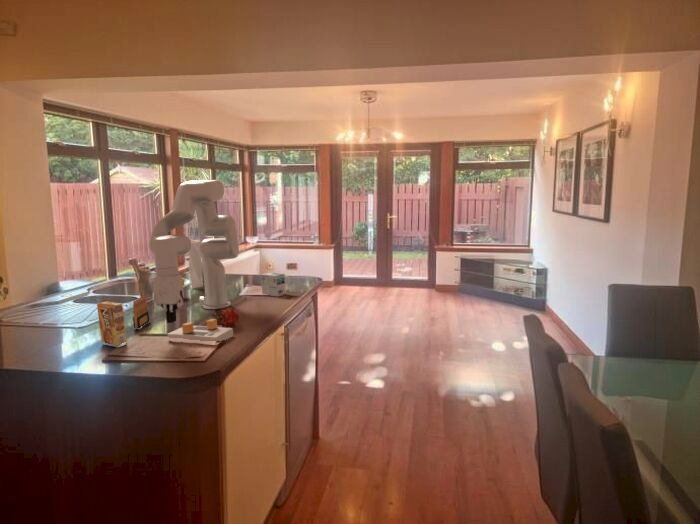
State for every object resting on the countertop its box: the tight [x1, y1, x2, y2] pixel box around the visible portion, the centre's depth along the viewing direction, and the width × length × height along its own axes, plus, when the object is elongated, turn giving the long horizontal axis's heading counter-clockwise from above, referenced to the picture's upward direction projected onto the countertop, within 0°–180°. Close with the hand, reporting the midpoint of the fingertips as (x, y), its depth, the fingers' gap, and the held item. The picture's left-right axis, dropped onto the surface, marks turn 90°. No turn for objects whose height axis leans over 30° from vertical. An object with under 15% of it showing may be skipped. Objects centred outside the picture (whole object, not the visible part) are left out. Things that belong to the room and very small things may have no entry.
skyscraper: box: [188, 237, 205, 290], centre depth 264 cm, size 8×8×28 cm
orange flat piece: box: [132, 294, 150, 329], centre depth 192 cm, size 11×2×12 cm, turn 0°
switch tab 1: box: [181, 321, 194, 333], centre depth 172 cm, size 2×3×3 cm
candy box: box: [96, 301, 128, 345], centre depth 169 cm, size 9×4×15 cm, turn 61°
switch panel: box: [167, 325, 234, 341], centre depth 174 cm, size 20×11×3 cm, turn 72°
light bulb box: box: [260, 272, 287, 297], centre depth 242 cm, size 11×7×11 cm, turn 58°
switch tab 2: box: [205, 318, 218, 329], centre depth 176 cm, size 2×3×3 cm
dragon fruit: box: [214, 306, 240, 328], centre depth 188 cm, size 8×8×12 cm
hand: (171, 321), depth 173 cm, fingers closed
